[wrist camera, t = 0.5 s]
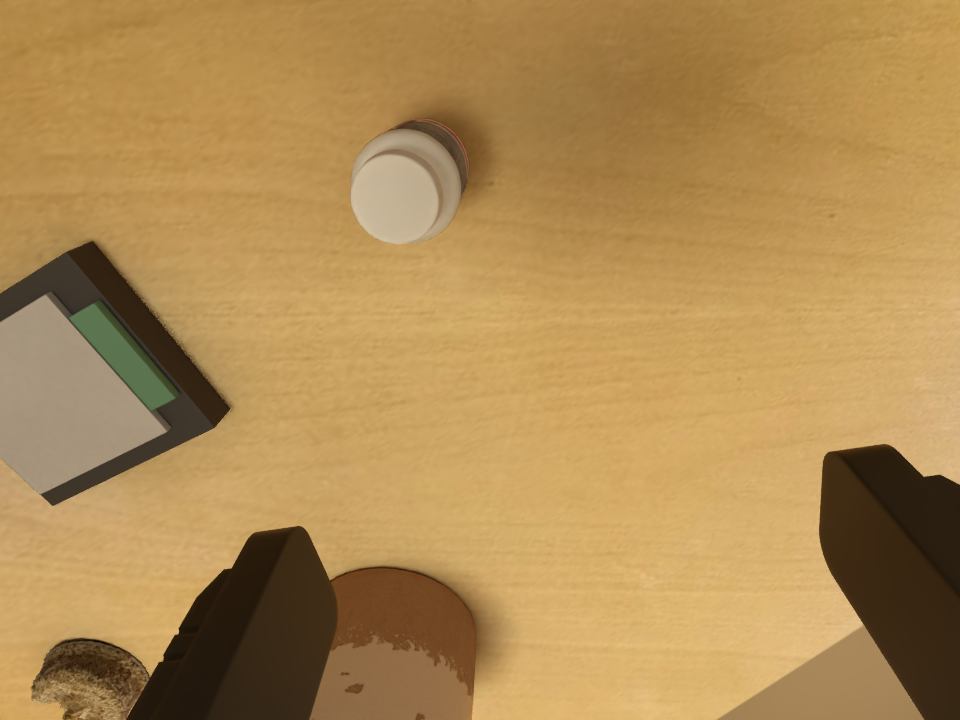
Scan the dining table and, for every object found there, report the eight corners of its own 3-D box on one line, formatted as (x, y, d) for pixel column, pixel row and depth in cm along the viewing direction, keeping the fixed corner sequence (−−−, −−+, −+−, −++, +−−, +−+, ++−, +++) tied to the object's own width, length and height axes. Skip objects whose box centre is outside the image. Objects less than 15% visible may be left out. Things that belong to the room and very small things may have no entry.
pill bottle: (392, 103, 33) (350, 116, 24) (482, 137, 33) (473, 162, 25) (368, 195, 35) (322, 238, 26) (453, 225, 36) (435, 276, 27)
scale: (92, 241, 37) (57, 255, 34) (230, 409, 43) (210, 433, 40) (-71, 343, 41) (-114, 363, 38) (74, 485, 47) (45, 512, 44)
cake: (82, 618, 54) (45, 669, 50) (173, 671, 58) (146, 724, 53) (26, 670, 57) (-15, 724, 52) (116, 718, 60) (85, 773, 55)
